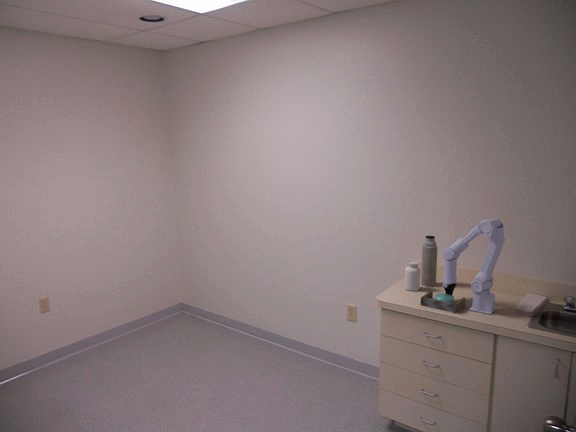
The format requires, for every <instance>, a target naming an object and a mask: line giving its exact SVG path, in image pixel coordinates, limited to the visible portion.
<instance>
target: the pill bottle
mask: <svg viewBox="0 0 576 432" xmlns="http://www.w3.org/2000/svg"><path fill="white" fill-rule="evenodd" d="M404 274H405V275H404V289H405V290H406V291H409V292H419V291H420V288H421V268H420V267H419V262H417V261H409V262H408V263H407V266H406V267H405V270H404Z"/></svg>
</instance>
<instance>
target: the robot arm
mask: <svg viewBox="0 0 576 432" xmlns="http://www.w3.org/2000/svg"><path fill="white" fill-rule="evenodd" d="M504 228H505V225H504V223H503V222H502V220H501V219H499V218H497V217H492V218H489V219H483V220H482V221H480V222H479V223H478V224H476V225H475V226H474V227H473V228H472V229H471V230H470V231H469V232H468V233H467V234H466V235H465V236H464V237H459V238H458V237H457V238H456V239H455V242H453V244H449V247H447V248H444V250H443V251H442V258H444V264H443V265H444V266H443V278H441V281H442V288H443V289H444V291H445V294H449V295H452V296H453V295H454V291H455V288H456V286H457V278H458V277H457V266H458V265H457V261H458V258H459V257H460V255H461V254H462V253H463V252H465V251H466V250H467V249H468V248H469V247H470V245H469V243H471V242H472V241H473V240H475V239H476V238H477V237H478V236H480V235H482V234H484V236H485V237H487V239H489V241H490V242H489V245H488V247H487V251H486V253H485V256H484V259H483V262H482V263H481V267H480V269H479V272H478V273H477V274H476V275H475V278H474V279H473V280H472V281H471V282H470V288H471V291H473V292H472V304H471V305H472V306H471V307H470V308H469V310H470V311H473V312H478V313H482V314H488V315H492V313H493V312H494V311H495V310H496V294H495V293H492V292H491V288H493V285H494V282H493V281H494V275H493V272H494V270H495V267H496V265H497V262H498V260H499V257H500V255H501V252H502V250H503V247H504V243H505V241H506V238H505V232H504Z"/></svg>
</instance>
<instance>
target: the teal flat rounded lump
mask: <svg viewBox="0 0 576 432" xmlns="http://www.w3.org/2000/svg"><path fill="white" fill-rule="evenodd" d="M434 299H435V300H439V301H444V302H449V303H453V304H455V296H454V295H453V294H452V295H449V294H446V293H436V294H434Z"/></svg>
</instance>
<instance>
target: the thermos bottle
mask: <svg viewBox="0 0 576 432" xmlns="http://www.w3.org/2000/svg"><path fill="white" fill-rule="evenodd" d="M421 247H422V248H421V249H422V250H421V251H422V252H421V273H420V286H421V285H422V286H423V287H429V288H432V287H436V285H437V270H438V269H437V264H438V263H437V262H438V245H437V242H436V239H435V236H434V235H426V236H425V240H424V241H423V245H422V246H421Z"/></svg>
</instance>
